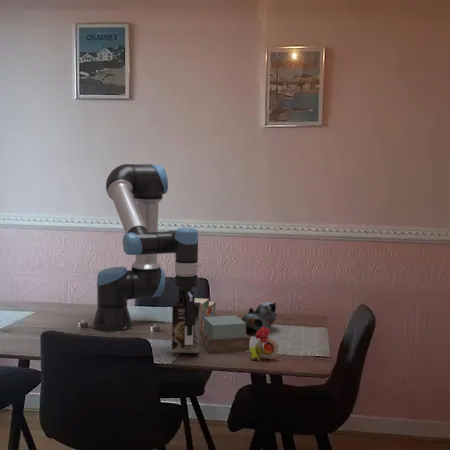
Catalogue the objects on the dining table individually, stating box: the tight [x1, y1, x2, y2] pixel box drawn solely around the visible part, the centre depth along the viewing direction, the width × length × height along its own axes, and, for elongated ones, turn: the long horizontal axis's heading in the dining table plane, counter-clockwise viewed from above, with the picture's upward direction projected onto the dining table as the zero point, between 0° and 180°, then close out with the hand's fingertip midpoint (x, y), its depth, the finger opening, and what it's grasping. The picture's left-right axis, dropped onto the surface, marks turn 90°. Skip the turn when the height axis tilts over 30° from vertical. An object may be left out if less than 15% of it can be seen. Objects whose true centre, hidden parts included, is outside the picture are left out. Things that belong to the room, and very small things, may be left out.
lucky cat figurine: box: [241, 301, 278, 332], centre depth 238 cm, size 15×12×14 cm
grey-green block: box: [204, 314, 247, 340], centre depth 216 cm, size 12×12×5 cm
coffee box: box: [171, 301, 201, 354], centre depth 206 cm, size 9×6×16 cm
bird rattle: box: [249, 326, 279, 361], centre depth 202 cm, size 6×11×9 cm
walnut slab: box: [199, 330, 251, 354], centre depth 217 cm, size 14×14×5 cm
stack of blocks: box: [194, 297, 217, 337], centre depth 239 cm, size 21×6×12 cm, turn 164°
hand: (186, 340), depth 206 cm, fingers closed on coffee box, 8 cm apart
